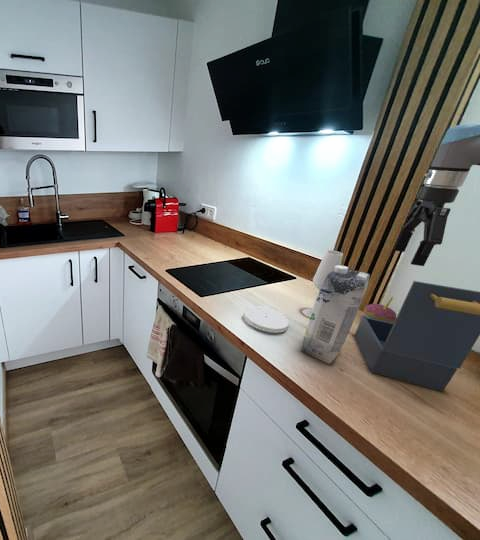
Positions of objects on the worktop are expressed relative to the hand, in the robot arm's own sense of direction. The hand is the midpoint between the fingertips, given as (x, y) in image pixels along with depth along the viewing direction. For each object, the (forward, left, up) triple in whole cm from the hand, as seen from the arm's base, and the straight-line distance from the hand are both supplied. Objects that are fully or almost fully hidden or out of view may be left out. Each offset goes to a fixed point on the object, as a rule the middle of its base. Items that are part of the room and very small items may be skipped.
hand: (407, 257), depth 88 cm
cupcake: (0, -1, -26) cm, 26 cm away
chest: (+1, +20, -25) cm, 32 cm away
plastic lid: (+35, +17, -26) cm, 46 cm away
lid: (+1, +28, -8) cm, 29 cm away
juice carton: (+20, +26, -26) cm, 41 cm away
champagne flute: (+19, +2, -26) cm, 32 cm away
